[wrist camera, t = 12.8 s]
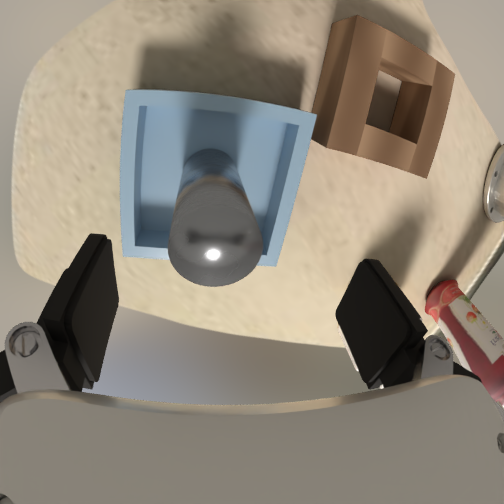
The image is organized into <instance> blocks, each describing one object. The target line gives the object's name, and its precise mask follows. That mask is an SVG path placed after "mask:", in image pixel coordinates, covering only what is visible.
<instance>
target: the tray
mask: <svg viewBox="0 0 504 504" xmlns="http://www.w3.org/2000/svg"><path fill="white" fill-rule="evenodd" d="M316 117H317V115H316V114H313V113H310V112H307V111H304V110H300V109H296V108H292V107H287V106H283V105H278V104H273V103H268V102H263V101H258V100H252V99H246V98H240V97H233V96H226V95H219V94H210V93H201V92H190V91H177V90H157V89H132V90H126V93H125V101H124V111H123V122H122V136H121V156H120V214H121V235H122V250H123V257H137V258H151V259H165V260H170V259H169V255H168V239H169V234H170V228H171V223H172V218H173V213H174V208H175V203H176V198H177V194H178V189H179V185H180V180H181V176H182V172H183V168H184V165H185V163H186V161H187V160H188V159H189V157H190V156H192V155H193V154H194V153H196V152H198V151H200V150H203V149H209V148H211V149H218V150H221V151H223V152H225V153H226V154H228V155H229V156H230V157H231V158H232V160H233V161H234V163H235V165H236V168H237V171H238V173H239V176H240V178H241V181H242V184H243V186H244V189H245V192H246V194H247V197H248V200H249V202H250V205H251V208H252V210H253V213H254V216H255V218H256V221H257V224H258V226H259V229H260V232H261V235H262V238H263V251H262V255H261V258H260V260H259V262H258V264H257V265H258V266H276V265H277V262H278V258H279V255H280V251H281V248H282V244H283V241H284V237H285V234H286V230H287V227H288V223H289V220H290V216H291V212H292V209H293V205H294V201H295V198H296V194H297V190H298V187H299V183H300V179H301V175H302V172H303V168H304V164H305V160H306V156H307V152H308V149H309V145H310V141H311V137H312V133H313V129H314V125H315V121H316Z"/></svg>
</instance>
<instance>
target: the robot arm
mask: <svg viewBox="0 0 504 504" xmlns="http://www.w3.org/2000/svg"><path fill="white" fill-rule="evenodd" d="M483 203H484V210H485V213H486V215H487V217H488V218H489V219H491V220H492V221H493V222H496V223H498V222H501V221H504V144H503V145H502V146H501V147H500V148H499V149H498V151H497V152H496V154H495V156H494V158H493V160H492V162H491V165H490V167H489V170H488V174H487V177H486V181H485V187H484V196H483ZM118 303H119V296H118V290H117V283H116V276H115V269H114V260H113V251H112V242H111V240H110V239H107V237H106V235H104V234H92V233H91V234H90V235H89V236H88V237H87V239H86V240H85V242H84V244H83V245H82V247H81V248H80V250H79V252H78V253H77V255H76V256H75V258H74V260H73V261H72V263H71V265H70V266H69V268H67V269H66V270H65V271H64V272H63V274H62V276H61V277H60V279H59V281H58V283H57V284H56V286H55V288H54V290H53V292H52V294H51V296H50V297H49V300H48V302H47V303H46V305H45V307H44V309H43V311H42V313H41V315H40V317H39V319H38V322H37V324H36V323H33V322H23V323H20V324H18V325H16V326H15V327H13V328H12V329H11V331H9V333H8V335H7V337H6V340H5V350H4V351H2V352H0V504H504V410H503V409H502V408H501V406H500V405H499V404H498V403H497V402H496V401H495V400H494V399H493V398H492V397H491V396H490V394H489V393H488V391H487V390H486V388H485V387H484V385H483V384H482V381H481V379H480V378H479V376H477V375H475V374H474V373H472V372H470V371H469V370H467V369H465V368H464V367H462V366H460V365H459V364H457V363H455V362H454V361H453V352H452V349H451V347H450V346H449V344H448V343H447V342H446V341H445V340H444V339H442V338H441V337H439V336H436V335H430V336H428V337H427V338H426V340H424V338H423V336H424V335H425V334H426V333H427V331H428V330H427V329H426V327H425V326H424V324H423V323H422V321H421V319H420V318H419V316H418V315H417V313H416V312H415V310H414V309H413V307H412V306H411V305H410V303H409V302H408V300H407V299H406V297H405V296H404V294H403V293H402V292H401V290H400V289H399V287H398V286H397V285H396V283H395V282H394V280H393V279H392V278H391V276H390V275H389V274H388V272H387V271H386V270H385V268H384V267H383V266H382V264H381V263H380V262H379V261H378V260H374V259H364V260H363V261H362V262H360V263H359V265H358V267H357V269H356V271H355V273H354V275H353V277H352V279H351V281H350V283H349V285H348V288H347V290H346V292H345V294H344V296H343V298H342V300H341V302H340V303H339V305H338V307H337V309H336V319H337V321H338V324H339V326H340V328H341V330H342V333H343V335H344V337H345V339H346V342H347V344H348V346H349V349H350V351H351V353H352V356H353V358H354V361H355V363H356V365H357V368H358V370H359V372H360V375H361V377H362V380H363V381H364V382H365V383H366V384H367V386H368V389H374V388H378V387H380V386H381V385H383V387H384V388H382V389H378V390H373V391H368V392H362V393H357V394H351V395H345V396H339V397H332V398H325V399H317V400H309V401H299V402H288V403H275V404H255V405H196V404H178V403H164V402H153V401H144V400H135V399H126V398H119V397H112V396H106V395H99V394H92V393H85V392H82V388H88V389H92V388H93V384H94V382H98V380H99V377H100V373H101V368H102V364H103V359H104V355H105V351H106V347H107V343H108V339H109V336H110V332H111V329H112V325H113V321H114V318H115V315H116V311H117V308H118Z"/></svg>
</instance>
